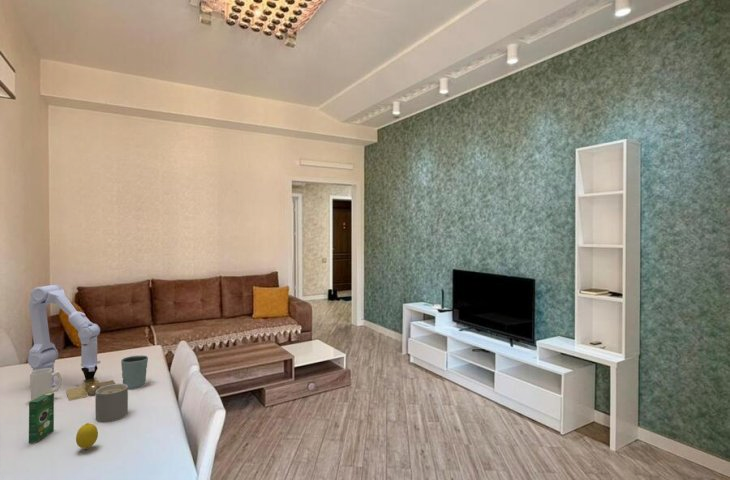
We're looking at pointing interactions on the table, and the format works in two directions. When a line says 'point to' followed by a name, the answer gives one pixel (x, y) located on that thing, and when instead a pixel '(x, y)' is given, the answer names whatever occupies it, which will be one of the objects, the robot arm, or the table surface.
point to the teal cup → (134, 371)
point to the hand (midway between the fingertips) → (89, 383)
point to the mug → (43, 382)
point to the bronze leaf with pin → (93, 386)
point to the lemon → (86, 436)
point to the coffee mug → (111, 402)
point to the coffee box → (41, 417)
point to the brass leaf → (80, 389)
